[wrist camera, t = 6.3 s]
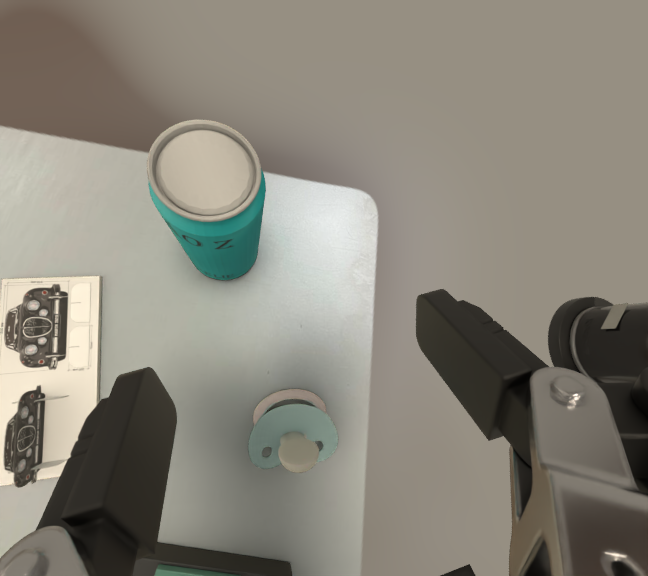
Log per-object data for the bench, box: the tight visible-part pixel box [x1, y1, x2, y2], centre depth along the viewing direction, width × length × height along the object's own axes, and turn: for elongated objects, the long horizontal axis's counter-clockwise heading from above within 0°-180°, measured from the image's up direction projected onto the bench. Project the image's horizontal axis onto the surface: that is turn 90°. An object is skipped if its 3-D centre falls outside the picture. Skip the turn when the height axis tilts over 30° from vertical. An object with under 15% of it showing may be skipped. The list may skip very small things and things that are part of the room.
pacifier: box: [248, 389, 338, 473], centre depth 26 cm, size 7×6×6 cm
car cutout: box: [0, 276, 102, 488], centre depth 23 cm, size 15×7×4 cm, turn 5°
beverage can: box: [147, 120, 266, 280], centre depth 22 cm, size 6×6×15 cm
